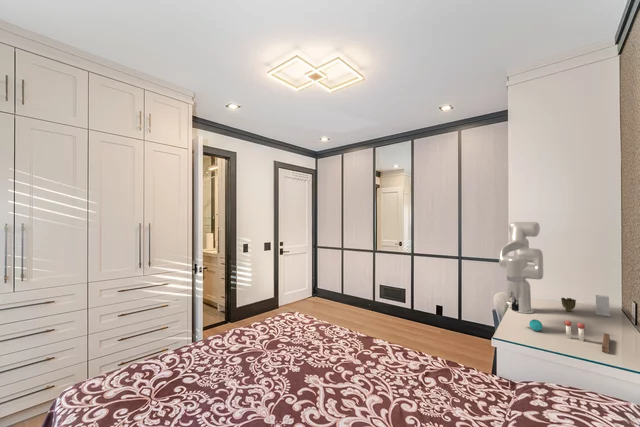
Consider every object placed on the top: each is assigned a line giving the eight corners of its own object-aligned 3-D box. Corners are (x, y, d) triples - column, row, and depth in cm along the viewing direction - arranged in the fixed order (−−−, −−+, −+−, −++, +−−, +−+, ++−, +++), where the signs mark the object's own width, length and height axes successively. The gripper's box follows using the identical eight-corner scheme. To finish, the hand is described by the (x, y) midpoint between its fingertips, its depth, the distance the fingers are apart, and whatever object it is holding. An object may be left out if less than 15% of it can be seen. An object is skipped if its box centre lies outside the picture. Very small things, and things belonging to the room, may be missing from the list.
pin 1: (564, 337, 151) (563, 320, 151) (565, 335, 153) (564, 319, 153) (572, 339, 149) (571, 322, 149) (572, 337, 151) (572, 320, 151)
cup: (573, 309, 191) (573, 297, 191) (578, 313, 185) (577, 301, 185) (559, 308, 194) (559, 296, 195) (563, 312, 188) (563, 300, 188)
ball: (528, 330, 161) (527, 319, 161) (530, 327, 165) (530, 317, 165) (541, 333, 157) (541, 322, 157) (543, 330, 161) (543, 319, 161)
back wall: (602, 352, 135) (602, 346, 135) (604, 338, 148) (603, 333, 148) (608, 353, 133) (608, 347, 133) (609, 339, 147) (609, 334, 147)
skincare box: (609, 315, 180) (609, 295, 180) (610, 317, 177) (609, 297, 177) (596, 313, 184) (595, 294, 184) (596, 315, 181) (595, 295, 181)
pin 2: (577, 340, 147) (576, 323, 147) (577, 338, 149) (577, 321, 150) (585, 342, 145) (584, 324, 145) (585, 340, 147) (585, 322, 147)
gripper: (510, 276, 176) (511, 306, 175) (503, 280, 166) (504, 311, 165) (525, 278, 170) (526, 309, 170) (518, 282, 160) (519, 314, 160)
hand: (515, 310), depth 168 cm, fingers closed
